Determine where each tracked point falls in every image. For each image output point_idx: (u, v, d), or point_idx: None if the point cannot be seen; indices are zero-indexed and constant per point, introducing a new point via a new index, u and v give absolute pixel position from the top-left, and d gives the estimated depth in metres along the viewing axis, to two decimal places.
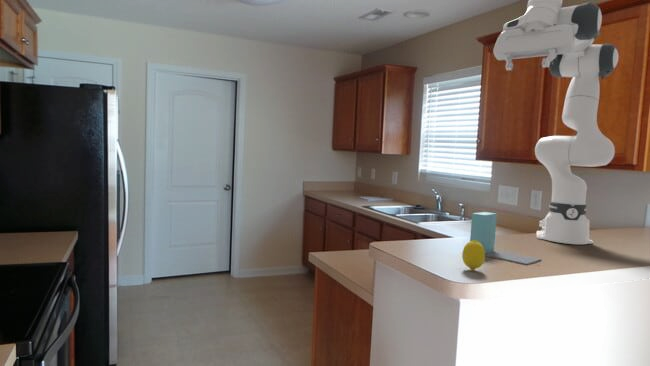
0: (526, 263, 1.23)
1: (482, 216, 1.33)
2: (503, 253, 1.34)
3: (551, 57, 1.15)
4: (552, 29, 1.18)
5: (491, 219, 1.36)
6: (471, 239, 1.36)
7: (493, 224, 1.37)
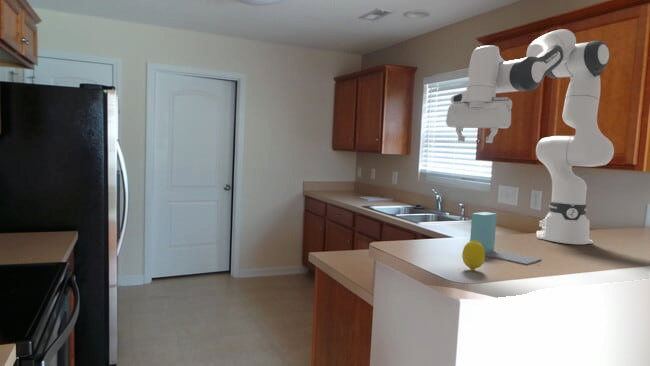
0: (526, 263, 1.23)
1: (482, 216, 1.33)
2: (503, 253, 1.34)
3: (493, 135, 1.34)
4: (490, 107, 1.33)
5: (491, 219, 1.36)
6: (471, 239, 1.36)
7: (493, 224, 1.37)
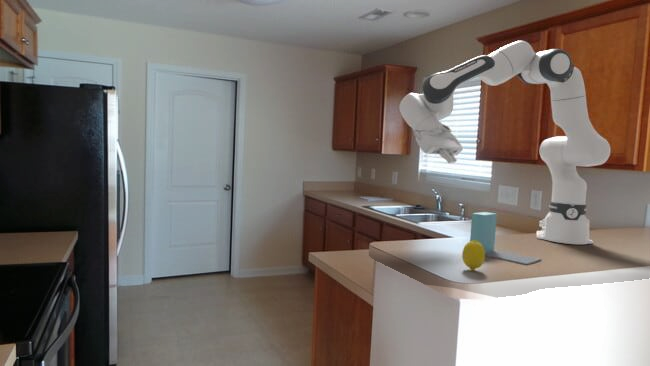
0: (526, 263, 1.23)
1: (482, 216, 1.33)
2: (503, 253, 1.34)
3: (445, 157, 1.45)
4: None
5: (491, 219, 1.36)
6: (471, 239, 1.36)
7: (493, 224, 1.37)
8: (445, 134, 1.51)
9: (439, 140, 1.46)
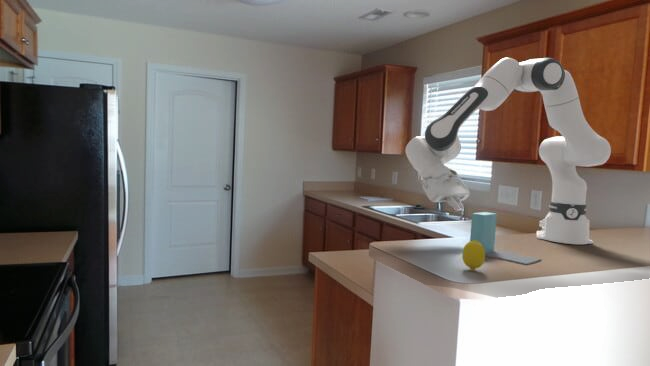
0: (526, 263, 1.23)
1: (482, 216, 1.33)
2: (503, 253, 1.34)
3: (452, 204, 1.43)
4: None
5: (491, 219, 1.36)
6: (471, 239, 1.36)
7: (493, 224, 1.37)
8: (452, 179, 1.49)
9: (446, 187, 1.44)
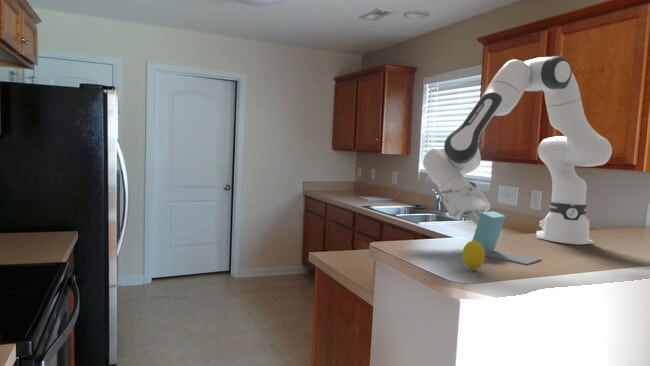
0: (526, 263, 1.23)
1: (491, 218, 1.31)
2: (503, 253, 1.34)
3: (474, 219, 1.38)
4: None
5: (499, 221, 1.34)
6: (474, 237, 1.35)
7: (499, 226, 1.36)
8: (472, 192, 1.44)
9: (467, 200, 1.39)
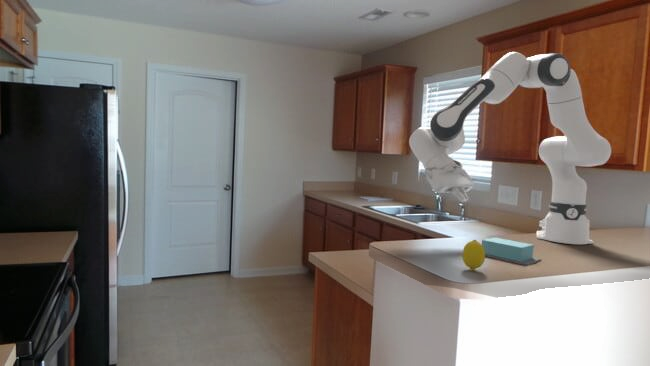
0: (526, 263, 1.23)
1: (519, 259, 1.25)
2: None
3: (457, 195, 1.42)
4: None
5: None
6: (494, 243, 1.30)
7: None
8: (456, 170, 1.48)
9: (451, 177, 1.43)
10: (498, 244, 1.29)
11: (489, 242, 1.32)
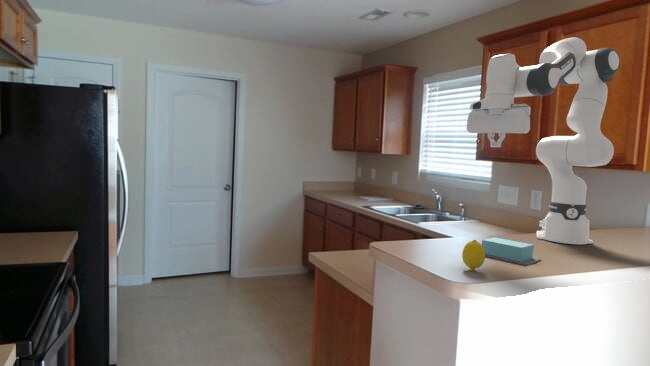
0: (526, 263, 1.23)
1: (519, 259, 1.25)
2: None
3: (501, 140, 1.43)
4: (509, 113, 1.39)
5: None
6: (494, 243, 1.30)
7: None
8: None
9: None
10: (498, 244, 1.29)
11: (489, 242, 1.32)
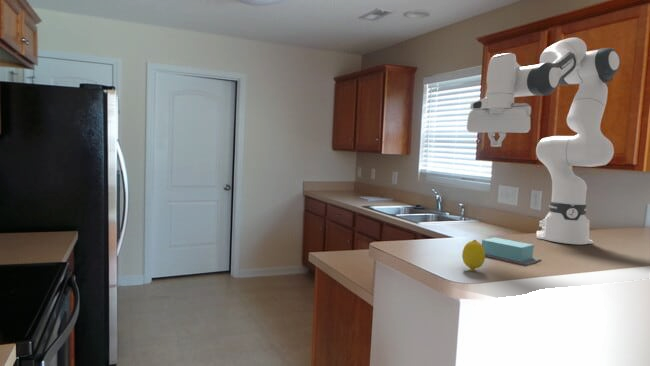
0: (526, 263, 1.23)
1: (519, 259, 1.25)
2: None
3: (501, 139, 1.43)
4: (510, 113, 1.39)
5: None
6: (494, 243, 1.30)
7: None
8: None
9: None
10: (498, 244, 1.29)
11: (489, 242, 1.32)
